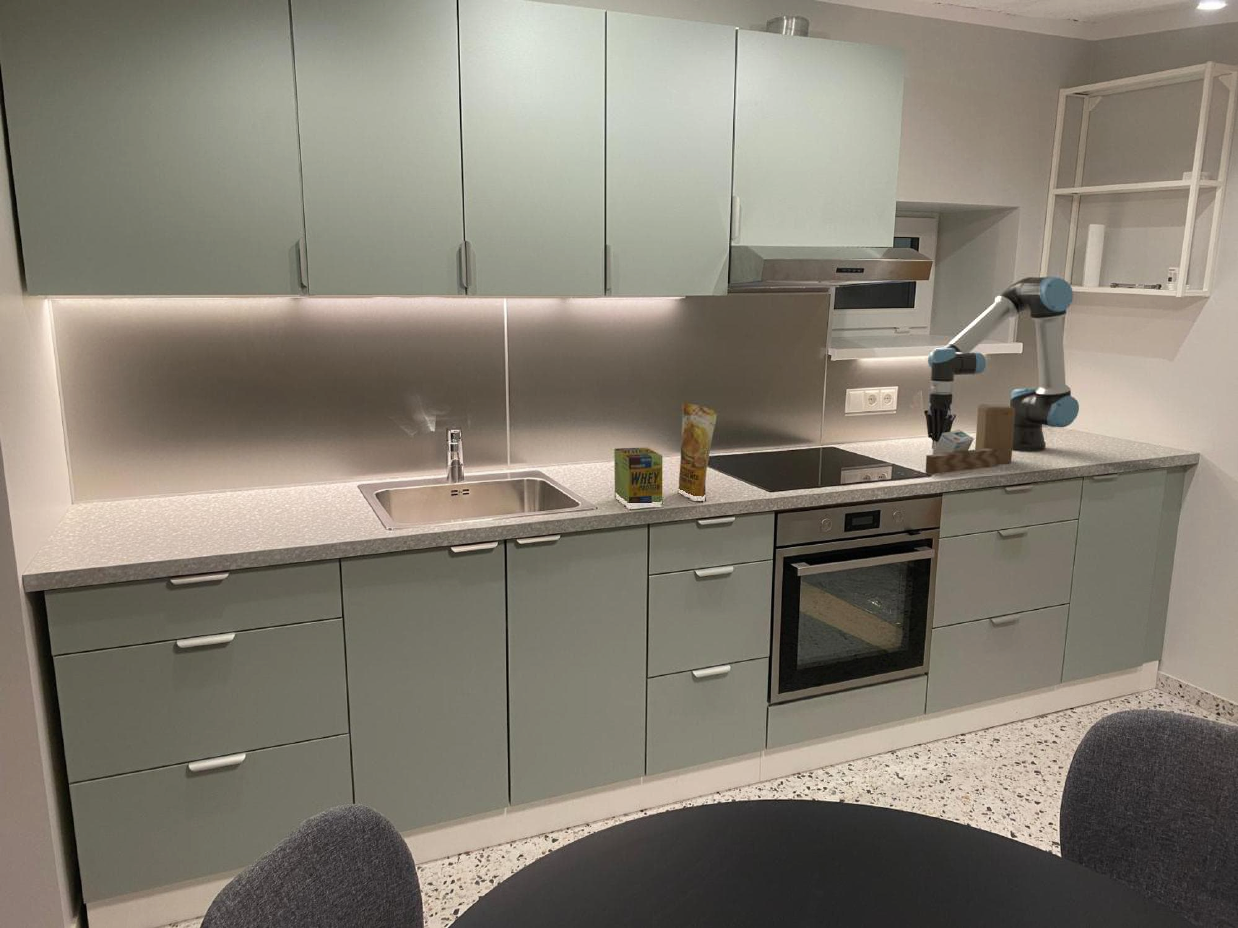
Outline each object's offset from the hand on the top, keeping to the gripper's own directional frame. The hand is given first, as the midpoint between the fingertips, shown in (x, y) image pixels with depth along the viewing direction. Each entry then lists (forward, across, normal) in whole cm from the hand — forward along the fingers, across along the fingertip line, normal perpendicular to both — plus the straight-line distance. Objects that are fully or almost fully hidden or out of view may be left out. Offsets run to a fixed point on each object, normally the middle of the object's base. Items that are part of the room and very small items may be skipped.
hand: (936, 458), depth 327 cm
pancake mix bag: (+2, +5, -101) cm, 101 cm away
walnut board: (+1, +12, 0) cm, 12 cm away
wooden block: (+2, +7, +20) cm, 21 cm away
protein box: (+2, +4, -120) cm, 120 cm away
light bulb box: (0, +4, 0) cm, 4 cm away
